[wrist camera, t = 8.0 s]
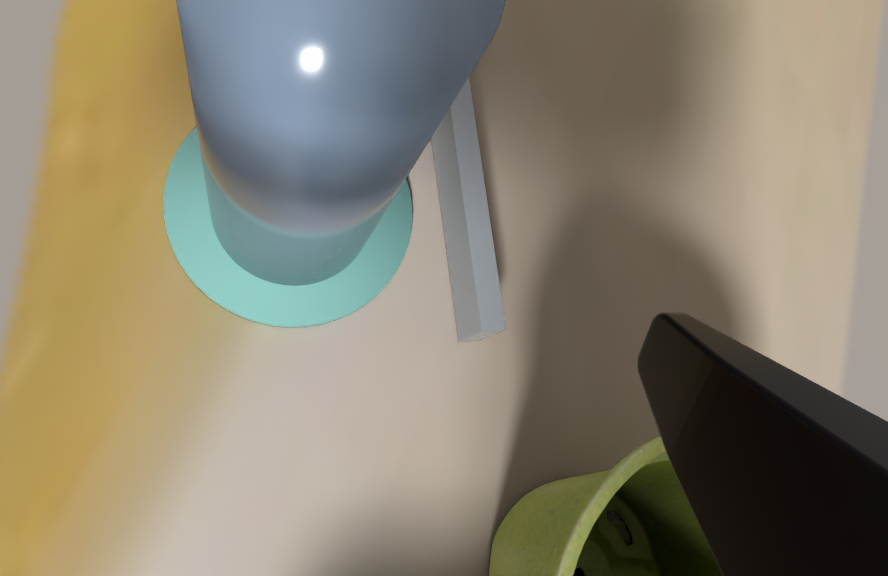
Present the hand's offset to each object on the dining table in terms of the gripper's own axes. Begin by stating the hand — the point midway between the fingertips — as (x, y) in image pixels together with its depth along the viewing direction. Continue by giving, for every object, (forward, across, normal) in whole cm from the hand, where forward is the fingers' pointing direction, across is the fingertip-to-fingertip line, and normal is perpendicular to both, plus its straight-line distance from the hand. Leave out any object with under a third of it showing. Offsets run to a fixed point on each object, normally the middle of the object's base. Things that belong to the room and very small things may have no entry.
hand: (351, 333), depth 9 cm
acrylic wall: (+15, -5, +4) cm, 16 cm away
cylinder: (+14, 0, +5) cm, 15 cm away
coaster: (+14, 0, +5) cm, 15 cm away
